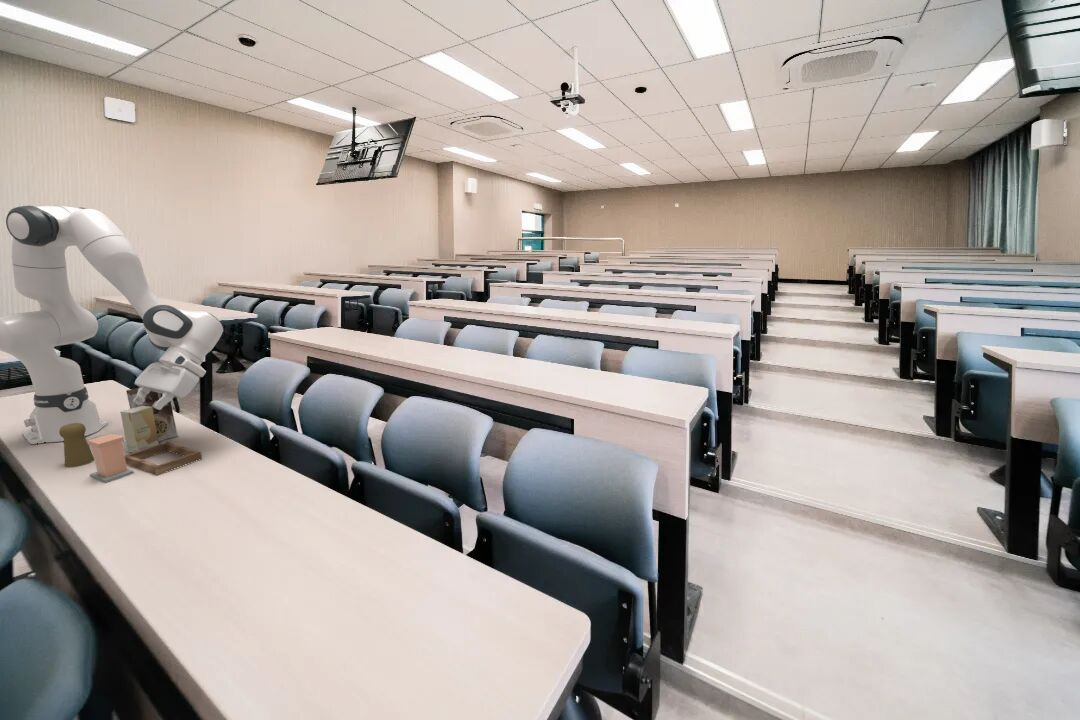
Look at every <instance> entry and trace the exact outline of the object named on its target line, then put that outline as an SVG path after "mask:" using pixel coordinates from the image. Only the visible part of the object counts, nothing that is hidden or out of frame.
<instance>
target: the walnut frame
mask: <svg viewBox="0 0 1080 720" xmlns="http://www.w3.org/2000/svg"><path fill="white" fill-rule="evenodd" d="M164 451H165V452H169V451H171V452H170V453H172V452H174V453H173V454H176V453H177V454H176V455H179V454H181V455H180V457H177V458H175V459H172V460H169V461H166V462H163V463H161V464H156V463H154V462H151V461H147V460H145V459H146V458H149V457H150V458H151V457H154V456H155V454H156V455H159V454H162V453H165V452H164ZM161 452H162V453H161ZM158 453H159V454H158ZM182 455H184V456H182ZM124 456H125V460H126V465H127V466H130V467H133V468H135V469H138V468H139V469H138V470H141V469H142V470H141V471H144V470H145V471H144V472H147V473H151V474H152V475H155V474H156V476H159V474H160V475H162V474H164V472H165V473H167V472H166V471H168V472H170V471H169V470H171V469H173V470H175V469H174V468H176V469H178V468H177V467H179V468H181V467H180V466H182V467H183V465H184V466H186V465H185V464H187V465H189V464H188V463H190V464H192V463H191V462H193V463H195V462H197V461H196V460H198V461H200V460H199V459H201V460H202V459H203V458H202V457H203V456H202V452H201V451H199V450H197V449H196V450H195V449H192V448H189V447H186V446H182V445H180V444H176V443H172V442H170V441H166V442H163V443H159V445H156V446H153V447H150V448H147V449H144V450H141V451H137V452H134V453H133V452H130V453H128V454H124ZM194 461H195V462H194ZM171 471H172V470H171ZM161 473H162V474H161Z"/></svg>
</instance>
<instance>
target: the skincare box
mask: <svg viewBox="0 0 1080 720" xmlns="http://www.w3.org/2000/svg"><path fill="white" fill-rule="evenodd" d="M120 417H121V421H122V429H123V435H124V441H125V444H126V451H127V452H128V453H134V452H137V451H141V450H144V449H147V448H150V447H153V446H156V445H160V443H159V441H158V438H157V432H156V426H155V420H154V414H153V408H152V407H149V406H139V407H136V408H131V409H130V408H128V409H126V410H123V411H122V410H121V411H120Z"/></svg>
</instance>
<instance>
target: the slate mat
mask: <svg viewBox="0 0 1080 720" xmlns="http://www.w3.org/2000/svg"><path fill="white" fill-rule="evenodd" d="M132 473H133V474H134V473H135V471H134V470H133V469H129V468H127V471H124V472H121V473H118V474H115V475H112V476H109V477H104V476H102V475H99V474H98V473H97V471H95V472H92V473H89V477H91V478H93V479H96V480H99V481H101V482H103V483H110V482H111V481H115V480H117V479H121V478H123V477H126V476H127V477H128V476H129V475H132Z"/></svg>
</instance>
